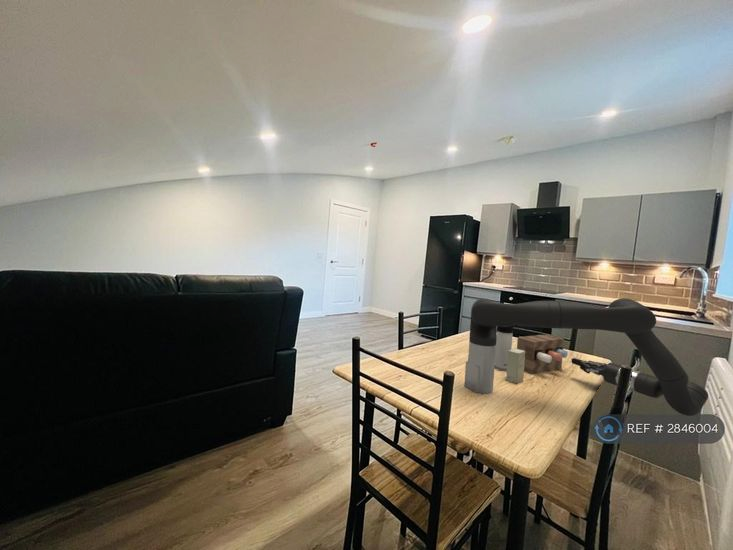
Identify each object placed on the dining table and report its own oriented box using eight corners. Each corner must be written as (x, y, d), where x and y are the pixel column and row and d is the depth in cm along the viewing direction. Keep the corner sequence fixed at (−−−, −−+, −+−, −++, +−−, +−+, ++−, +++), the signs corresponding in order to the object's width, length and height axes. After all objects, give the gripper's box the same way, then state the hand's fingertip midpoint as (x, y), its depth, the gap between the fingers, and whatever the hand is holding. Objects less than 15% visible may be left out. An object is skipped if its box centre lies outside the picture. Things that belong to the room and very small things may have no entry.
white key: (546, 363, 119) (547, 355, 119) (536, 359, 123) (536, 352, 123) (551, 362, 121) (552, 355, 120) (541, 359, 125) (541, 351, 124)
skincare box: (516, 384, 113) (519, 353, 112) (505, 380, 116) (507, 350, 115) (523, 380, 117) (526, 350, 116) (512, 376, 120) (514, 347, 119)
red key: (557, 361, 122) (558, 354, 122) (547, 358, 126) (547, 350, 126) (562, 360, 123) (562, 353, 123) (551, 357, 127) (552, 350, 127)
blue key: (562, 358, 127) (563, 351, 127) (552, 355, 131) (553, 348, 131) (567, 357, 128) (567, 350, 128) (557, 354, 132) (557, 347, 132)
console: (531, 374, 124) (534, 342, 123) (515, 367, 131) (517, 337, 130) (561, 369, 132) (563, 338, 131) (544, 362, 139) (546, 334, 138)
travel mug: (509, 372, 124) (512, 326, 123) (492, 368, 128) (496, 324, 127) (512, 368, 129) (515, 324, 128) (496, 364, 133) (499, 322, 132)
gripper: (633, 365, 108) (582, 350, 123) (614, 368, 102) (563, 353, 118) (631, 384, 108) (581, 367, 124) (612, 389, 103) (561, 370, 118)
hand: (572, 360), depth 121 cm, fingers closed
